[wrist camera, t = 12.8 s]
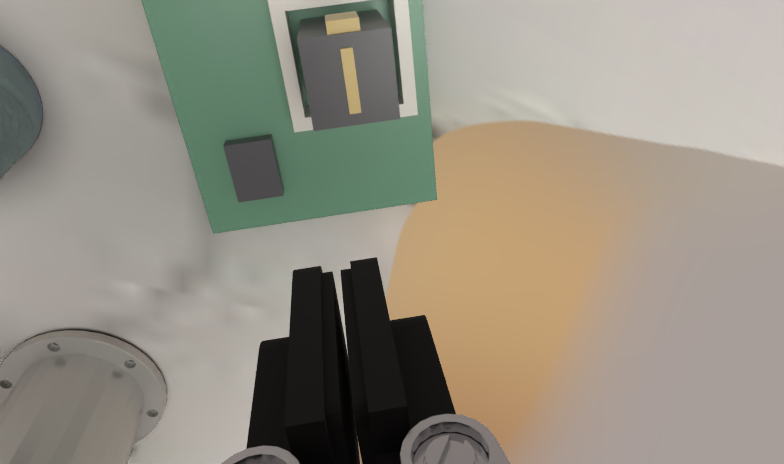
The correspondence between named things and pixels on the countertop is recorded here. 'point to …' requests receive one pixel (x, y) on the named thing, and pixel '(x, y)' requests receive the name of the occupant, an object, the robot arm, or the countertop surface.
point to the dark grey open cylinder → (17, 111)
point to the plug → (348, 69)
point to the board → (288, 112)
